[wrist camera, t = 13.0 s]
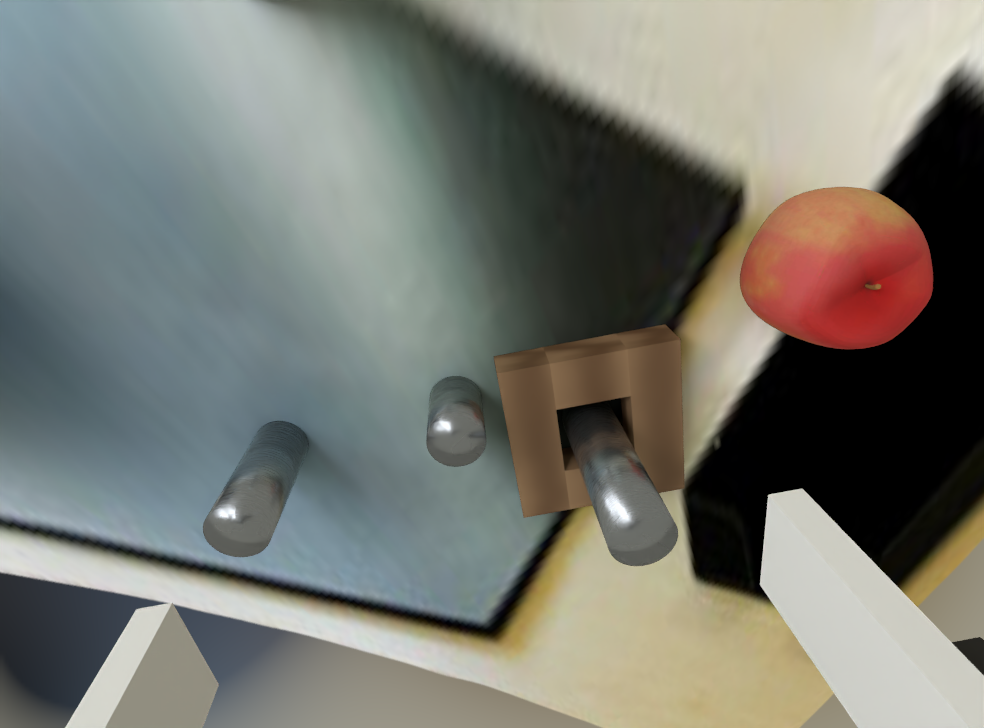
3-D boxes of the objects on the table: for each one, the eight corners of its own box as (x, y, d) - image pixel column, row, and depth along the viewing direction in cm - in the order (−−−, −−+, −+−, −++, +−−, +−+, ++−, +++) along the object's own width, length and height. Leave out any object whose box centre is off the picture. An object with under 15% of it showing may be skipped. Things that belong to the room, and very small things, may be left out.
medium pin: (265, 468, 43) (217, 562, 34) (247, 426, 42) (192, 512, 32) (314, 459, 43) (280, 550, 34) (299, 417, 42) (258, 500, 32)
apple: (871, 247, 39) (998, 287, 30) (763, 338, 42) (850, 400, 32) (800, 148, 36) (918, 159, 27) (687, 253, 38) (761, 296, 29)
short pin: (435, 425, 43) (433, 471, 37) (424, 381, 41) (420, 422, 36) (485, 416, 43) (490, 460, 37) (476, 371, 41) (480, 410, 36)
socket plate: (519, 493, 46) (523, 517, 43) (493, 356, 41) (496, 373, 38) (670, 465, 46) (684, 488, 43) (665, 324, 40) (680, 339, 38)
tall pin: (564, 440, 44) (610, 571, 31) (558, 397, 42) (604, 518, 30) (612, 431, 44) (678, 558, 31) (609, 388, 42) (677, 504, 30)
